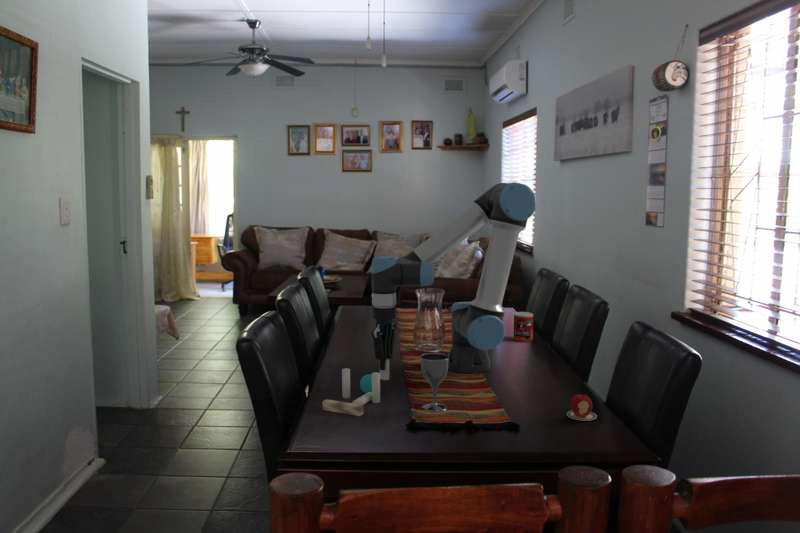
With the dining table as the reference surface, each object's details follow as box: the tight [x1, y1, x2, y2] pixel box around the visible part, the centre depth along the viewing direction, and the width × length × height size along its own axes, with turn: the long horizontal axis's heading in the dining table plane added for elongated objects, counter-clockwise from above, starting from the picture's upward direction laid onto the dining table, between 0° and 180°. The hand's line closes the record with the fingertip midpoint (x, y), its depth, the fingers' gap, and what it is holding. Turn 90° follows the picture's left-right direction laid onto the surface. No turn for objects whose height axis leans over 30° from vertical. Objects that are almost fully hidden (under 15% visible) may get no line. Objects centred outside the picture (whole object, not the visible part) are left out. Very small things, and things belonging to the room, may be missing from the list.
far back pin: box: [341, 367, 351, 399], centre depth 194 cm, size 2×2×8 cm
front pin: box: [351, 392, 372, 406], centre depth 189 cm, size 2×2×8 cm
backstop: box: [322, 399, 364, 417], centre depth 182 cm, size 12×2×2 cm, turn 65°
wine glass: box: [420, 352, 449, 413], centre depth 184 cm, size 8×8×15 cm
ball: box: [359, 373, 372, 394], centre depth 197 cm, size 6×6×6 cm
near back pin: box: [371, 371, 381, 404], centre depth 190 cm, size 2×2×8 cm
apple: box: [566, 393, 598, 422], centre depth 177 cm, size 8×8×6 cm
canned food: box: [513, 311, 534, 343], centre depth 264 cm, size 8×8×11 cm
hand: (384, 379), depth 206 cm, fingers closed
